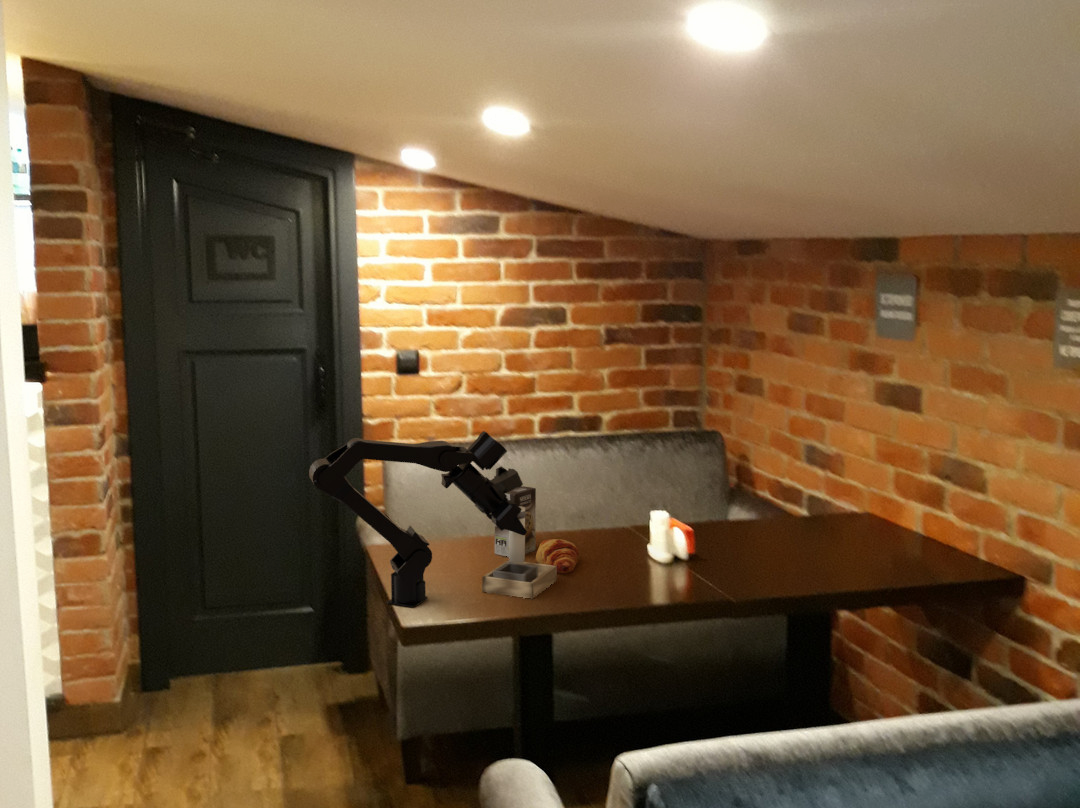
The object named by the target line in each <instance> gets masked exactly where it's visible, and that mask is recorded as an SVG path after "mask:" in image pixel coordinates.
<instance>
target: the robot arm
mask: <svg viewBox="0 0 1080 808" xmlns="http://www.w3.org/2000/svg"><path fill="white" fill-rule="evenodd" d="M507 452H508V450H507V449H506V448H505V447H504V446H503V445H502V444H501V443H500V442H498V440H495V438H493V437H492V436H491V435H490V434H489V433H488V432H486V431H485V430H482V431H481V433H480V434H479V435H478V436H477V438H476V439H475V440H474V441H473V443H471V444H470V445H469V447H468V448H466V447H464V446H458V445H457V446H456V445H452V444H451V443H450V442H447V441H446V440H431V441H424V442H420V443H407V442H394V441H383V440H374V439H373V440H372V439H362V438H359V437H354V438H351V439H350V440H349V441H348V442H346V443H345V444H344V445H342V446H340V447H339V448H337V449H336V450H334V451H332V452H330V454H328V455H326V457H324V458H319V459H317V460H315V461H314V462H312V464H311V465H310V467H309V470H308V472H309V473H308V475H309V479H310V480H311V482H312V484H313V486H315V488H316V489H317V490H318V491H320V492H321V493H323V494H326V496H328V497H331V498H333V499H335V500H336V501H339V502H341V503H343V504H344V505H345V506H346V507H348V508H349V509H350V510H351V511H352V512H353V513H354V514H356V516H358V517H359V518H360V519H361V520H363V521H364V522H365V523H366V524H367V525H368V526H370V527H371V528H372V529H373V530H374V531H375V532H377V533H378V535H381V536H382V537H383V538H384V539H385V540H386V541H387V542H388V543H390V545H391V546H392V547H393V548H394V550H395V551H396V553H395V555H393V557H392V558H391V559H390V561H389V563H390V565H391V568H392V570H393V571H394V572H392V573H391V574H390V584H391V585H390V592H391V596H390V597H391V598H390V599H389V600H387V604H388V605H394V606H401V607H407V608H415V607H417V606H418V605H420V604H421V603H423V602H425V601H426V600H427V599H428V595H427V594H426V593H427V592H426V580H424V575H425V574H424V573H425V570H426V568H427V567H429V565H430V564H431V563H432V560H433V552H432V550H431V548H430V547H429V546H430V543H429V542H428V540H427V539H426V538H425V537H424V536H423V535H421V534H419V533H417V531H415V529H414V528H413V526H411V525H409V526H408V528H407V530H406V529H405V528H402V527H400V526H398V524H396V523H395V522H394V521H392V519H391V518H389V517H388V516H387V515H386V514H384V513H383V512H382V511H381V510H380V509H379V508H378V507H377V506H375V505H374V504H373V503H372V502H371V501H370V500H368V499H367V498H366V497H365V496H364V495H363V494H362V493H360V492H359V491H358V490H357V489H356V488H354V487H353V486H352V484H351V483H350V482H349V481H348V479H347V478H346V475H348V474H350V472H351V471H352V470H353V469H354V467H355V466H356V465H358V463H360V462H361V461H362V460H369V461H371V460H372V461H383V462H395V463H405V464H407V463H408V464H416V465H419V466H423V467H426V468H429V469H432V470H436V471H440V472H442V473H441V474H440V475H441V486H442V487H444V488H445V489H448V488H449V487H450V486H451V485H452V484H453V485H454V486H455V487H456V488H457V489H458V490H459V491H460V492H461V493H463V495H465V496H466V497H467V498H468V499H469V500H470V501H471V502H472V503H473V505H474V506H475V507H476V509H478V510H479V511H480V512H481V513H482V514H484V515H486V518H488V519H489V520H491V522H492V523H493V524H494V526H495V525H496V526H497V527H498V528H499V529H500V530H501V531H502V530H504V529H506V530H509V531H512V532H515V533H518V534H521V535H525V534H526V533H527V531H526V529H525V528H524V526H523V525H522V523H521V522H520V520H519V519H518V517H517V515H518V514H519V513H520V512H521V510H522V509H521V508H520V507H519V506H518V505H517V504H516V503H514V502H513V501H512V500H508V498H506V497H507V495H506V494H505V493H507V492H509V491H511V490H513V489H515V488H517V487H518V488H519V487H521V486H523V485H524V483H523V481H522V479H521V477H520V474H519V472H518V471H517V470H516V469H514V468H508V470H507V469H506V468H505V467H503V466H499V467H497V468H496V469H495V476H493V478H491V479H489V478H488V477H487V476H484V475H483V474H482V473H481V472H480V471H479V470H478V469H477V468H476V467H475V466H477V467H478V468H479V469H481V471H484V470H486V471H488V470H489V471H490V470H492V468H493V467H494V466H495V465H496V464H497V463H498V462H499V461H500V460H501V459H502V458H503V456H504V455H506V454H507ZM472 463H474V464H475V466H474V465H473V464H472ZM426 595H427V596H426Z"/></svg>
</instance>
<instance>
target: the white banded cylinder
mask: <svg viewBox="0 0 1080 808" xmlns="http://www.w3.org/2000/svg"><path fill="white" fill-rule="evenodd" d="M519 507H520V508H521V509H522V510H521V512H520V513H519V514H518V515H517V517H518V519H519V520H520V522H521V523H522V525H523V526H524V528H525V507H522V506H519ZM525 555H526V554H525V535H521V534H518V533H515V532H512V531H509V557H508V560H509V562H511V563H523V562H526V561H525V560H526V559H525V558H526V556H525Z"/></svg>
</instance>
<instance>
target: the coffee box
mask: <svg viewBox="0 0 1080 808" xmlns="http://www.w3.org/2000/svg"><path fill="white" fill-rule="evenodd" d="M536 491H537V488H536V487H531V486H523V485H522V486H521V487H519V488H518V487H517V488H515V489H513V490H511V491H509V492H507V493H505V494H506V495H507V497H506V498H508V500H512V501H513V502H514V503H516V504H517V505H518V506H522V507H525V529H526V531H527V533H526V534H525V555H526V554H529V553H532V552H534V551H536V539H537V538H536V535H537V534H536V532H537V531H536V523H537V522H536V520H537V519H536V517H537V516H536V515H537V514H536V513H537V512H536V511H537V509H536V508H537V506H536V502H537V499H536V497H537V492H536ZM494 554H495V555H498V556H501V557H506V556H507V558H509V530H506V529H504V530H502V531H501V530H500V529H499V528H498V527H497V526H496V525H495V524H494Z"/></svg>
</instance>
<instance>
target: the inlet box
mask: <svg viewBox="0 0 1080 808" xmlns="http://www.w3.org/2000/svg"><path fill="white" fill-rule="evenodd" d="M557 575H558V574H557V566H552V565H545V564H540V563H537V562H536V563H535V562H529V561H524V562H523V563H511V562H509V559H508V560H506V561H505V562H503V563H502V564H500V565H499V566H498V567H496V568H494V569H493V570H491V571H489V572H488V573H486V574H485V575H483V576H482V577H481V578H482V582H481V583H482V587H481V588H482V589H481V590H482V593H484V592H487V593H486V594H491V593H496V594H495V595H498V594H502V595H501V596H505V595H510V596H509V597H512V596H517V597H516V598H518V597H523V598H522V599H525V598H531V599H530V600H533V598H534V597H535V596H536V597H538V596H539V595H540V594H541V593H542V591H543V592H544V591H546V590H547V589H548V588H549V587H551V586H552V585H553V584H555V583H556V582H557V580H558V579H557V577H558V576H557ZM554 582H555V583H554ZM551 584H552V585H551ZM550 585H551V586H550ZM546 588H547V589H546ZM539 593H540V594H539ZM538 594H539V595H538ZM537 595H538V596H537ZM536 597H535V598H536ZM535 598H534V599H535Z"/></svg>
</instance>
